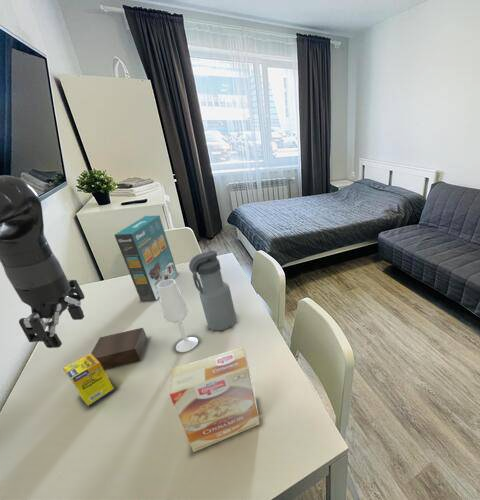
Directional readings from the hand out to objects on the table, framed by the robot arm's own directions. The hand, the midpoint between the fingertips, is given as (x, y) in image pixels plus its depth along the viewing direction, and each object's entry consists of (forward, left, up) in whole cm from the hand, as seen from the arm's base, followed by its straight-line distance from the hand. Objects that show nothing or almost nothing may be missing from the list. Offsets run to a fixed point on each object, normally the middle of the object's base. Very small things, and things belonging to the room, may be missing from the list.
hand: (67, 331), depth 64 cm
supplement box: (-2, +1, -23) cm, 23 cm away
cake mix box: (+4, +56, -23) cm, 61 cm away
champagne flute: (+19, +12, -23) cm, 32 cm away
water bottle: (+30, +19, -23) cm, 42 cm away
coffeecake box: (+31, -21, -23) cm, 44 cm away
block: (0, +15, -22) cm, 27 cm away
